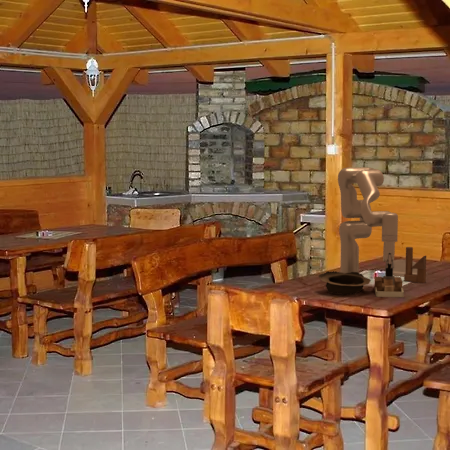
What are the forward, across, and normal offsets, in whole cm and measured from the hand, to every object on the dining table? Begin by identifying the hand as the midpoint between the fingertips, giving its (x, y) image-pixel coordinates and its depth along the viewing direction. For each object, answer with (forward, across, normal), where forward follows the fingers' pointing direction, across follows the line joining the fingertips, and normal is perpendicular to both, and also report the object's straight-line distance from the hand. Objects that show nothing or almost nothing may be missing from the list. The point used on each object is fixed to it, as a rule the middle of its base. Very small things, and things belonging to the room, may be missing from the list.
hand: (388, 275), depth 403 cm
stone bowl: (+9, +1, -21) cm, 23 cm away
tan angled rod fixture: (+9, -34, +15) cm, 38 cm away
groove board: (+9, -7, 0) cm, 11 cm away
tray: (+9, +5, 0) cm, 10 cm away
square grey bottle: (+5, 0, 0) cm, 5 cm away
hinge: (+9, -53, +11) cm, 54 cm away
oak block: (+8, +3, 0) cm, 8 cm away
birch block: (+6, +5, 0) cm, 8 cm away
